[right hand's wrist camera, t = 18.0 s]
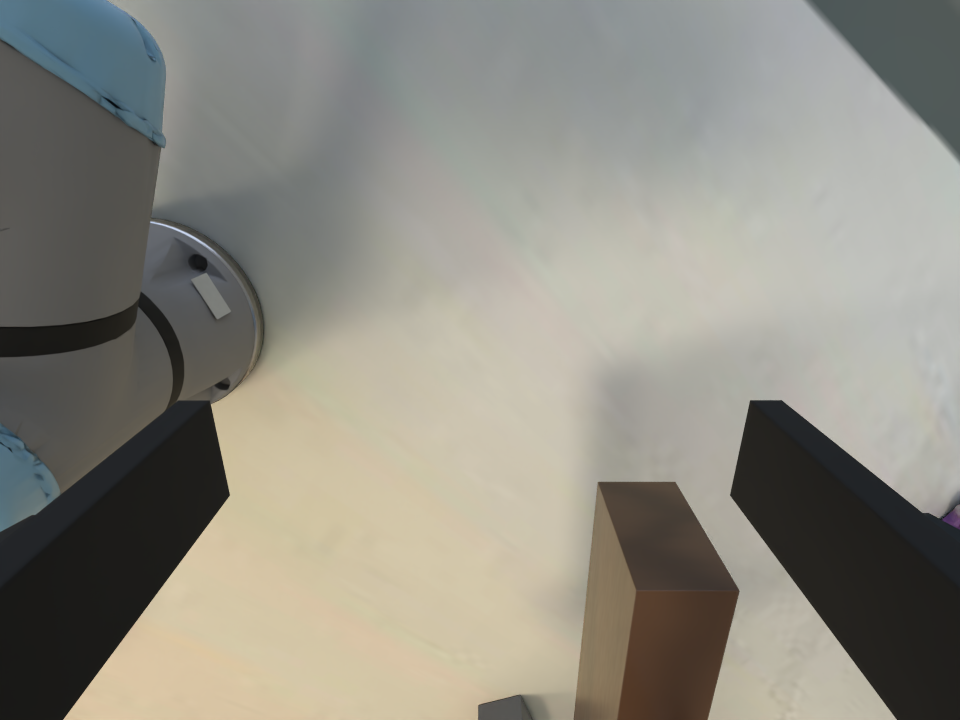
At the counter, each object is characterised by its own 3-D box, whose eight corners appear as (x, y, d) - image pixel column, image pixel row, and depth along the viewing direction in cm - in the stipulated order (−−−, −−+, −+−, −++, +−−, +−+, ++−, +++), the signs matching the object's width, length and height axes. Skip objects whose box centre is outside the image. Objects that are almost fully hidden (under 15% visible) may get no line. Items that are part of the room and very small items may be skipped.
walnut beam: (568, 766, 39) (589, 908, 32) (597, 481, 30) (636, 590, 22) (627, 766, 39) (661, 908, 32) (675, 481, 30) (740, 590, 22)
